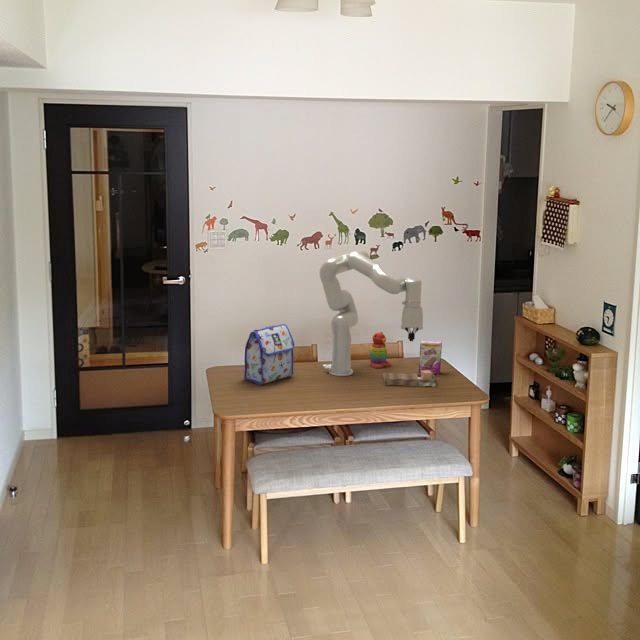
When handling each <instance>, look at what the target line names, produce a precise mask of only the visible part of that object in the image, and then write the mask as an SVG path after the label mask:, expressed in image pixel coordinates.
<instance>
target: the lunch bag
mask: <svg viewBox="0 0 640 640" xmlns="http://www.w3.org/2000/svg"><path fill="white" fill-rule="evenodd" d="M249 333H250V334H249V336H248V339H247V341H246V344H245V347H244V358H243V359H244V375H243V378H244V380H246V381H248V382H252V383H255V384H258V385H260V386H262V385H264V384H268V383H270V382H274V381H278V380H281V379H285V378H288V377H292V376H294V349H295V341H294V338H293V336H292V334H291V332H290V329H289V327H288V326H287V324H284V323H283V324H278V325H271V326H270V325H269V326H265V327H263V328H260V329H254V330H253V331H251V332H249Z"/></svg>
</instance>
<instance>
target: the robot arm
mask: <svg viewBox="0 0 640 640" xmlns="http://www.w3.org/2000/svg"><path fill="white" fill-rule="evenodd" d="M351 270H354V271H356V272H358V273H360V274H361V275H364V276H365V277H366V278H369V279H370V280H371V281H372V283H374V285H375V286H377V287H378V288H379V289H381V290H382V291H384V292H387V293H388V294H391V295H398V294H400V293H403V292H404V293H405V299H404V301H401V304H402V305H403V309H402V313H401V314H402V315H401V325H400V329H401V330H405V331H406V332H407V334H408V335H407V336H408V337H407V340H408V341H409V342H414V340H415V335H416V333H417V332H418V331H420V330H423V329H424V326H423V325H424V318H423V317H424V312H423V307H422V306H421V305H422V304H421V303H422V286H423V285H422V281H421V279H418V278H409V277H407V276H398V277H394V278H393V277H391V276H390V275H387V274H386V273H385V272H383V271H382V269H381V265H380V263H378V262H377V261H375V260H374V259H371V257H370V255H369V253H368V252H367V251H366V250H363V249H358V250H354V251H352V252H349V253H345V254H341V255H338V256H334V257H331V258H329V259H327V260H325V261H323V263H322V264H321V265H320V269H319V278H320V282H321V284H322V288H323V290H324V291H323V292H324V295H325V298H326V303H327V306H328V308H329V309H330V310H331V311H332V312H338V311H339V313H337V314H335V315H334V316H333V317H332V320H331V323H330V325H331V327H330V328H331V334H332V335H331V337H332V338H331V339H332V342H331V343H332V346H331V351H332V352H331V356H332V357H331V363H329V364H323V365H322V368H323V369H325V370H328V373H329V375H331V376H335V377H348V376H351V375H353V374H354V370H353V369H352V368H351V359H352V358H351V357H352V356H351V354H352V351H351V350H352V336H351V329H353V328H354V327H356V326H357V325H358V322H359V315H358V311H357V307H356V304H355V301H354V298H353V295H352V294H351V292H349V291H348V290H346V289H342V287H341V284H340V281H339V279H338V278H337V275H338V274H341V273H344V272H347V271H351ZM411 328H412V330H411Z"/></svg>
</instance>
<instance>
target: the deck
mask: <svg viewBox="0 0 640 640" xmlns="http://www.w3.org/2000/svg"><path fill="white" fill-rule="evenodd" d="M431 372H432V378H431V379H422V378H421V373H404V372H403V373H400V372H398V373H397V372H393V373H392V372H383V373H382V377H383V378H384V379H383V378H382V379H383V383H384V384H385V385H403V386H402V387H425V386H432V388H434V387H435V388H436V384H437V379H436V376H435V374H433V371H431ZM385 385H384V386H385Z"/></svg>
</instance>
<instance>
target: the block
mask: <svg viewBox="0 0 640 640" xmlns="http://www.w3.org/2000/svg"><path fill="white" fill-rule="evenodd" d="M420 374H421V378H422V379H431V378H432V372H431V371H430V370H425V371H421V373H420Z"/></svg>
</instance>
